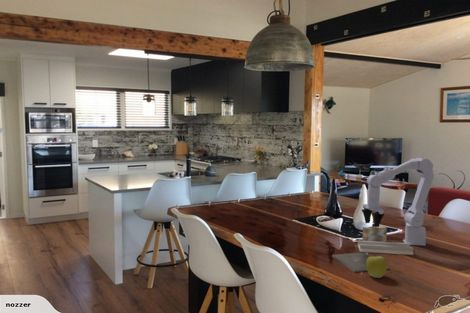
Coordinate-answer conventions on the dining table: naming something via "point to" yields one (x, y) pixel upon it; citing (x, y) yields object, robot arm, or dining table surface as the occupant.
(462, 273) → the dining table surface
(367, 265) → the apple
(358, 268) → the play button award
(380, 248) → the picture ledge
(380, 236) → the oak frame
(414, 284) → the dining table surface
